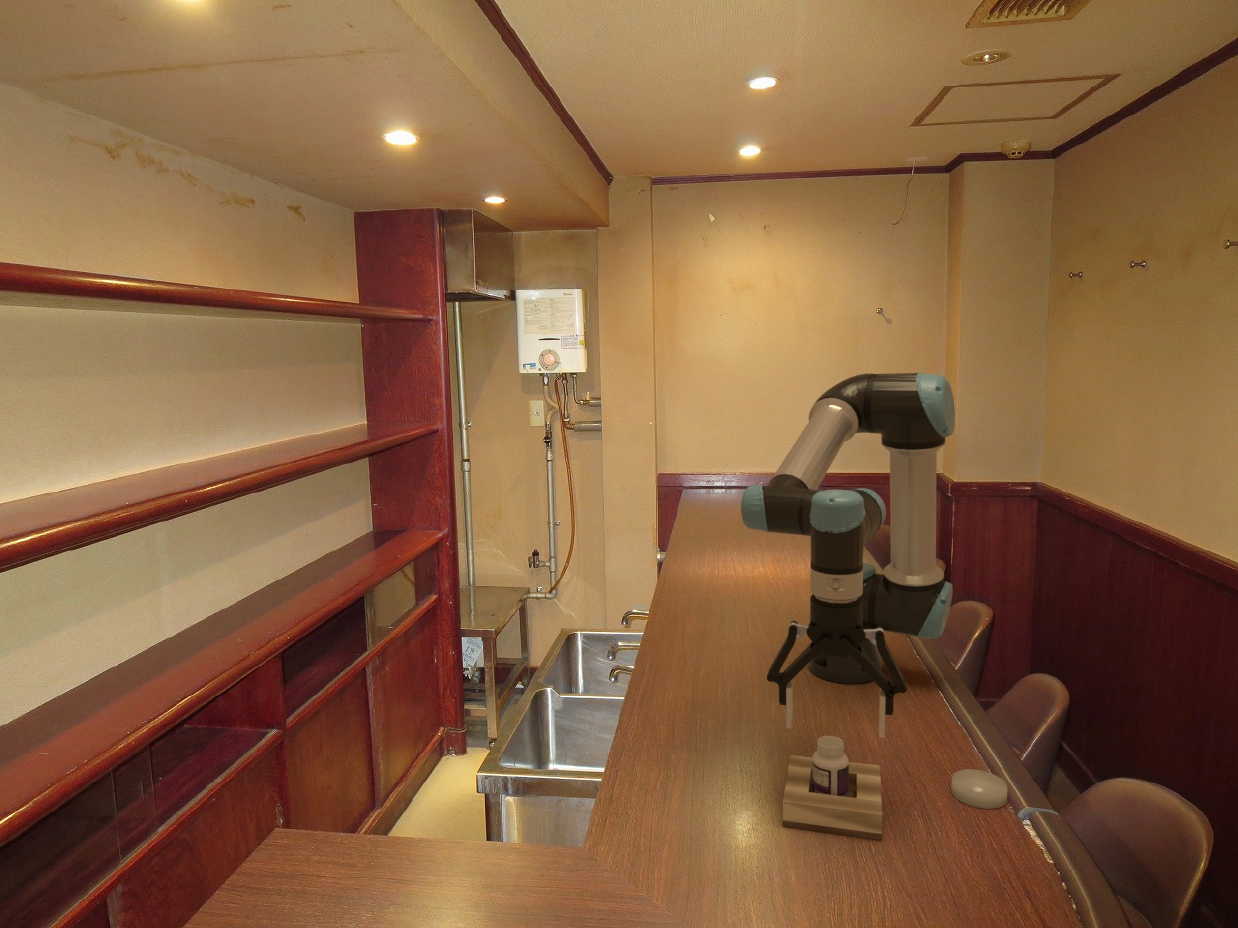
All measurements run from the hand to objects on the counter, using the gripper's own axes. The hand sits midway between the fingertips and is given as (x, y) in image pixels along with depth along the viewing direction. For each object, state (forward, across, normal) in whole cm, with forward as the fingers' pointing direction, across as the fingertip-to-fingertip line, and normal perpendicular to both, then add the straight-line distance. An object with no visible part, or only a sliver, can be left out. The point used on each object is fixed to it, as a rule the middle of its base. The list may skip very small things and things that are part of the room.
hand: (834, 728), depth 124 cm
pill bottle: (+12, -1, -1) cm, 12 cm away
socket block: (+13, 0, -1) cm, 13 cm away
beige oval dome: (+13, +22, +8) cm, 27 cm away
